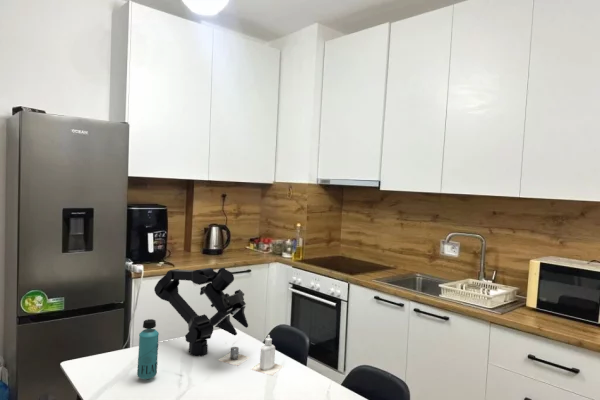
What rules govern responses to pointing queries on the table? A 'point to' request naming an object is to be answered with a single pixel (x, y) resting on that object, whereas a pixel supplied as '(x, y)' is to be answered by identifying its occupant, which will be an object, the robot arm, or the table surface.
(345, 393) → the table surface
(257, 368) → the board
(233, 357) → the metal pin
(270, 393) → the table surface
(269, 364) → the eye dropper bottle
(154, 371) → the beverage bottle
